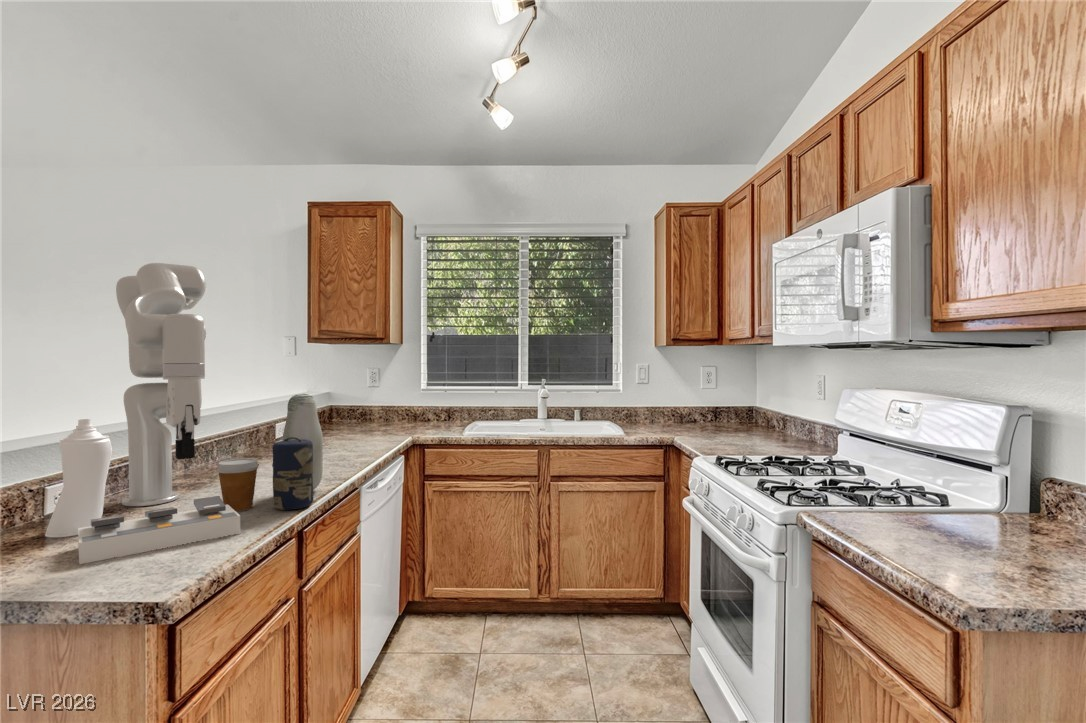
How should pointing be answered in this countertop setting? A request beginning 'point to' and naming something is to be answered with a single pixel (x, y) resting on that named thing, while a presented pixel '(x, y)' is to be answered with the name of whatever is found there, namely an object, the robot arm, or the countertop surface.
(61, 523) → the white bottle
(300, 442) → the canister
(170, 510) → the rocker middle
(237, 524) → the switch unit
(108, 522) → the plate
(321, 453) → the grey bottle
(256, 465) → the disposable coffee cup
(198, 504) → the rocker
